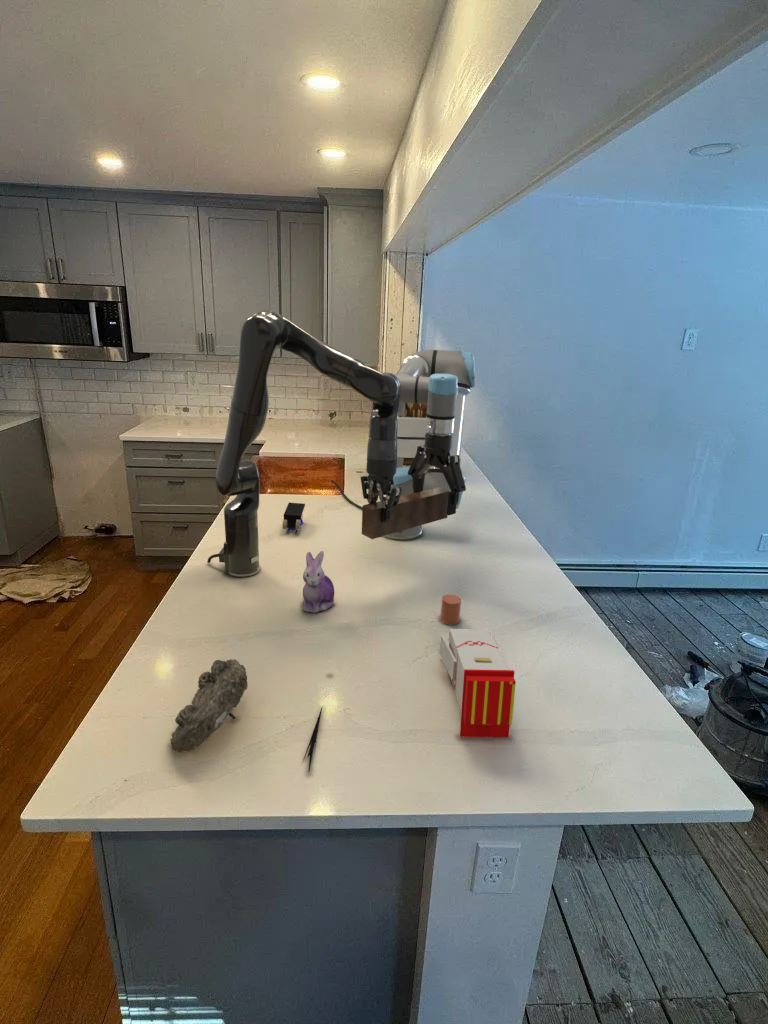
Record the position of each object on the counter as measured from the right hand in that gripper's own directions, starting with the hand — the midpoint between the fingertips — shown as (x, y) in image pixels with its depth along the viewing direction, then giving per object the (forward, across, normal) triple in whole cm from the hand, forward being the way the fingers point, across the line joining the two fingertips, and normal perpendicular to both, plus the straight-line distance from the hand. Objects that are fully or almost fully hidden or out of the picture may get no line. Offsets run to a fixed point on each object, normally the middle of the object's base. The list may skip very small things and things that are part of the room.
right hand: (433, 507), depth 160 cm
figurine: (+22, -6, -35) cm, 42 cm away
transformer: (+23, -84, +77) cm, 116 cm away
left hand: (-1, 0, -20) cm, 20 cm away
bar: (+3, 0, -10) cm, 11 cm away
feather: (+22, +31, -60) cm, 71 cm away
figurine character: (+23, -56, -11) cm, 61 cm away
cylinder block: (+22, +20, -12) cm, 32 cm away
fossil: (+22, +18, -75) cm, 81 cm away
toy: (+22, +43, -30) cm, 57 cm away
